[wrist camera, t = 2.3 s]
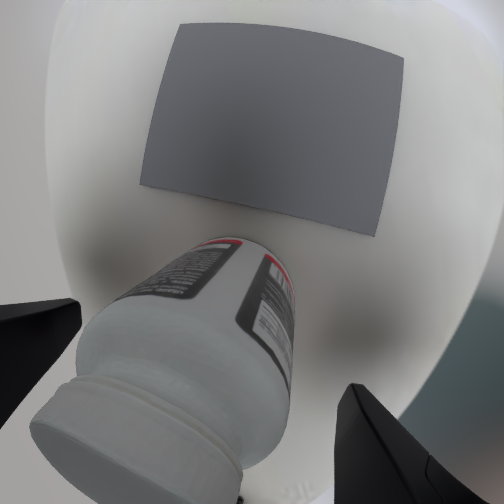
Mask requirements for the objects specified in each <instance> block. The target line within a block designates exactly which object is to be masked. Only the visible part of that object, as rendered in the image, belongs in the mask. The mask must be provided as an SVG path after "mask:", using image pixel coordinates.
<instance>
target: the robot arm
mask: <svg viewBox="0 0 504 504" xmlns="http://www.w3.org/2000/svg"><path fill="white" fill-rule="evenodd" d="M81 326H82V316H81V305H80V303H79V302H78V301H76V300H74V299H72V298H65V299H56V300H47V301H38V302H29V303H18V304H8V305H0V429H1V428H2V426H3V425H4V424H5V422H6V421H7V420H8V418H9V417H10V416H11V414H12V413H13V412H14V411H15V409H16V408H17V407H18V405H19V404H20V403H21V402H22V401H23V399H24V398H25V397H26V396H27V394H28V393H29V392H30V391H31V390H32V388H33V387H34V386H35V385H36V384H37V382H38V381H39V380H40V379H41V378H42V377H43V375H44V374H45V373H46V372H47V371H48V370H49V368H50V367H51V366H52V365H53V364H54V363H55V362H56V361H57V359H58V358H59V357H60V356H61V354H62V353H63V352H64V350H65V349H66V347H67V346H68V345H69V343H70V342H71V341H72V339H73V338H74V337H75V335H76V334H77V332H78V331H79V330H80V328H81ZM334 488H335V489H334V504H489V503H487V502H486V501H484V500H483V499H481V498H480V497H479V496H477V495H476V494H475V493H473V492H472V491H471V490H470V489H469V488H467V487H466V486H465V485H463V484H462V483H461V482H460V481H458V480H457V479H456V478H455V477H454V476H453V475H452V474H450V473H449V472H448V471H447V470H446V469H445V468H444V467H443V466H442V465H441V464H440V463H439V462H438V461H437V460H435V458H434V457H433V456H432V455H429V452H428V451H427V450H426V449H425V448H424V447H423V446H422V445H421V444H420V443H419V442H418V441H417V440H416V439H415V438H414V437H413V436H412V435H411V434H410V433H409V432H408V431H407V430H406V429H405V428H404V427H403V426H402V425H401V424H400V422H399V421H398V420H397V419H396V418H395V417H394V416H393V415H392V414H391V413H390V412H389V411H388V410H387V409H386V408H385V407H384V406H383V405H382V404H381V403H380V402H379V401H378V400H377V399H376V398H375V396H374V395H373V394H372V393H371V392H370V391H369V390H368V389H367V388H366V387H365V386H364V385H362V384H356V383H351V384H349V385H348V387H347V389H346V391H345V392H344V394H343V396H342V398H341V400H340V402H339V404H338V409H337V422H336V434H335V445H334ZM236 504H243V499H241V498H238V499H237V503H236Z"/></svg>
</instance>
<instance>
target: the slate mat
mask: <svg viewBox="0 0 504 504" xmlns="http://www.w3.org/2000/svg"><path fill="white" fill-rule="evenodd" d="M403 65H404V58H402V57H400V56H397V55H394V54H392V53H389V52H386V51H383V50H380V49H377V48H374V47H371V46H368V45H365V44H361V43H358V42H354V41H350V40H347V39H343V38H339V37H335V36H330V35H326V34H321V33H316V32H311V31H305V30H299V29H293V28H286V27H278V26H269V25H258V24H243V23H190V24H180V26H179V29H178V31H177V34H176V37H175V40H174V43H173V46H172V49H171V52H170V55H169V58H168V61H167V64H166V67H165V71H164V74H163V78H162V81H161V85H160V88H159V92H158V96H157V100H156V104H155V108H154V112H153V116H152V120H151V125H150V129H149V134H148V139H147V144H146V149H145V154H144V160H143V166H142V172H141V178H140V185H143V186H149V187H155V188H160V189H166V190H171V191H177V192H182V193H188V194H193V195H198V196H203V197H208V198H213V199H218V200H223V201H228V202H232V203H237V204H242V205H246V206H251V207H256V208H260V209H265V210H269V211H273V212H278V213H282V214H286V215H291V216H295V217H299V218H303V219H307V220H311V221H315V222H319V223H323V224H327V225H331V226H335V227H339V228H343V229H346V230H350V231H354V232H358V233H361V234H365V235H369V236H372V237H374V236H375V232H376V228H377V224H378V221H379V217H380V213H381V209H382V204H383V200H384V196H385V191H386V187H387V182H388V177H389V172H390V167H391V162H392V157H393V151H394V145H395V139H396V132H397V125H398V118H399V110H400V101H401V91H402V80H403Z"/></svg>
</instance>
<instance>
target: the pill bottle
mask: <svg viewBox="0 0 504 504" xmlns="http://www.w3.org/2000/svg"><path fill="white" fill-rule="evenodd" d="M294 316H295V298H294V289H293V285H292V282H291V279H290V277H289V274H288V273H287V271H286V269H285V268H284V266H283V265H282V263H281V262H280V261H279V260H278V258H276V257H275V256H274V255H273V254H272V253H271V252H270V251H268V250H267V249H265V248H264V247H262V246H261V245H258V244H256V243H254V242H251V241H248V240H245V239H241V238H233V237H223V238H218V239H213V240H209V241H207V242H204V243H202V244H200V245H198V246H197V247H195V248H193V249H191V250H190V251H188V252H187V253H185V254H183V255H182V256H181V257H179V258H177V259H176V260H174V261H173V262H171V263H170V264H168V265H167V266H166V267H164V268H163V269H162V270H160V271H159V272H157V273H156V274H155V275H153V276H151V277H150V278H148V279H147V280H146V281H144V282H142V283H141V284H139V285H138V286H136V287H135V288H133V289H132V290H130V291H129V292H127V293H126V294H124V295H122V296H121V297H119V298H118V299H116V300H115V301H114V302H112V303H111V304H109V305H108V306H106V307H105V308H104V309H103V310H102V311H100V312H99V313H98V314H97V315H96V316H95V317H94V318H93V319H92V320H91V321H90V322H89V323H88V325H87V326H86V327H85V329H84V330H83V333H82V335H81V337H80V339H79V342H78V346H77V351H76V372H77V377H75V378H73V379H72V380H71V381H70V382H68V383H65V384H63V385H61V386H60V387H59V388H58V390H57V391H56V393H55V395H54V396H53V397H52V398H51V399H50V400H49V401H48V402H47V403H46V404H45V405H44V406H43V407H42V408H41V409H40V410H39V411H38V413H37V414H36V415H35V416H34V417H33V419H32V420H31V423H30V426H29V427H30V432H31V436H32V438H33V440H34V442H35V443H36V445H37V446H38V448H39V449H40V451H41V452H42V454H43V455H44V456H45V458H46V459H47V460H48V461H49V462H50V464H51V465H52V466H53V467H54V468H55V469H56V470H57V471H58V472H59V473H60V474H61V475H62V476H63V477H64V478H65V479H66V480H67V481H69V482H70V483H71V484H72V485H73V486H75V487H76V488H77V489H78V490H80V491H81V492H82V493H84V494H85V495H87V496H88V497H90V498H91V499H92V500H94V501H95V502H97V503H98V504H236V503H237V499H238V495H239V491H240V486H241V485H240V484H241V481H242V477H243V472H242V470H244V469H247V468H250V467H252V466H254V465H256V464H257V463H259V462H260V461H262V460H263V459H265V458H266V457H267V456H268V455H269V454H270V453H271V452H272V451H273V450H274V449H275V448H276V446H277V445H278V444H279V442H280V440H281V438H282V436H283V434H284V431H285V428H286V425H287V419H288V414H289V407H290V389H291V373H292V354H293V338H294Z"/></svg>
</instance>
